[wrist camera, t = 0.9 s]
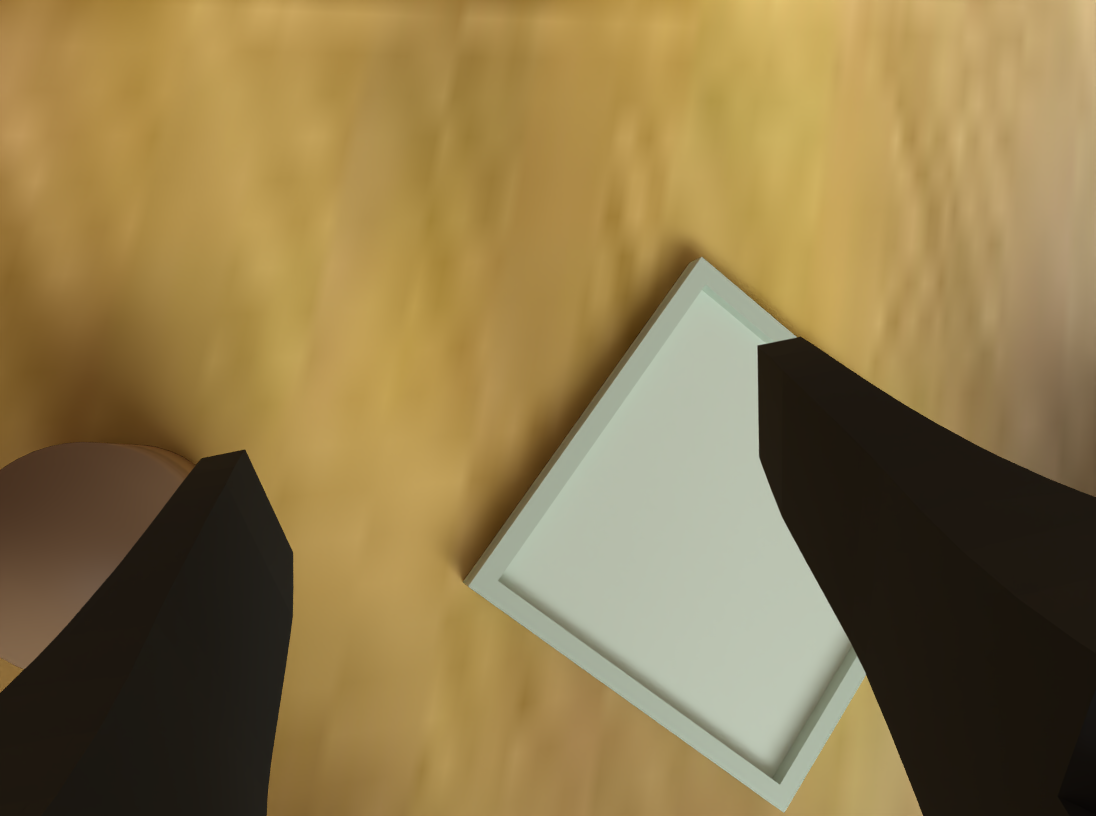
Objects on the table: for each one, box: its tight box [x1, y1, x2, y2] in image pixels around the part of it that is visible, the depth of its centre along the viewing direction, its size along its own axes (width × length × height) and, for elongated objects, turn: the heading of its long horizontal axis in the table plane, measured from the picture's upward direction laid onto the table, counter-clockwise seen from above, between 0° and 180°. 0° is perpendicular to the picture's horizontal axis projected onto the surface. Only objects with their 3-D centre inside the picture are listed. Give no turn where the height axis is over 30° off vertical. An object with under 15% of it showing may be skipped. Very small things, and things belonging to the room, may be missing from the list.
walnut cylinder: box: [0, 442, 195, 669], centre depth 21 cm, size 5×5×6 cm
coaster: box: [463, 257, 866, 812], centre depth 28 cm, size 12×12×1 cm
